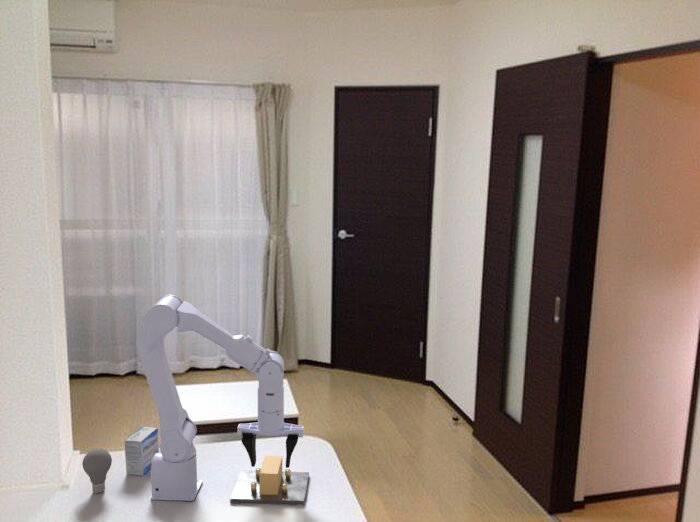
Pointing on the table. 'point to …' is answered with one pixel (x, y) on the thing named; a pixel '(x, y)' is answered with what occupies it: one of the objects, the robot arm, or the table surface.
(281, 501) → the chassis plate
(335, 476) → the table surface
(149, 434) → the medicine box
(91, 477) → the light bulb
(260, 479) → the ochre block
